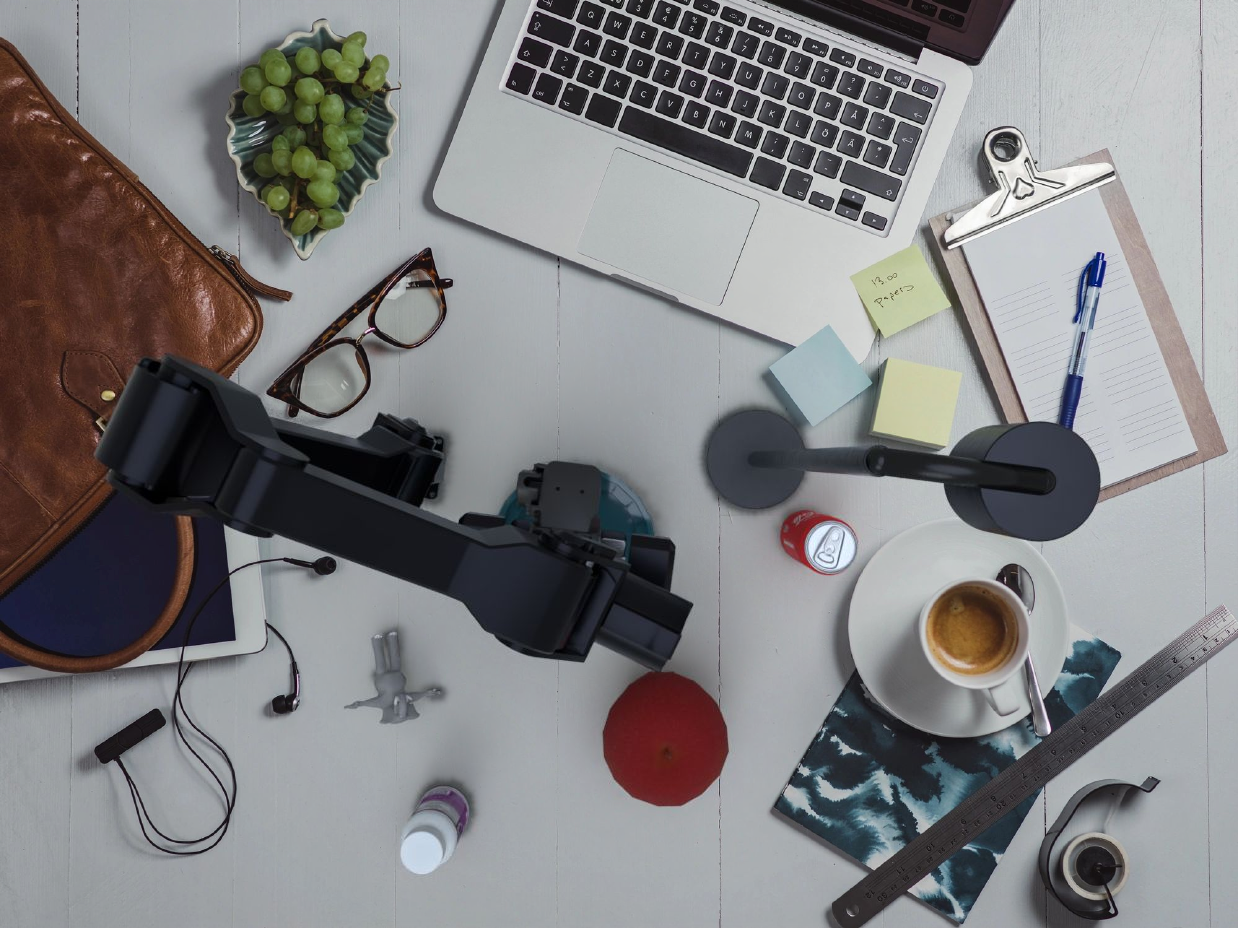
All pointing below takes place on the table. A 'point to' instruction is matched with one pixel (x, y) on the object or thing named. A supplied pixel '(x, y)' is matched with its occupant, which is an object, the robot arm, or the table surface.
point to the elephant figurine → (391, 685)
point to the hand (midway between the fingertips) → (571, 550)
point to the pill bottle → (434, 829)
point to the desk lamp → (924, 471)
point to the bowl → (603, 509)
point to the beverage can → (819, 542)
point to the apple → (665, 739)
